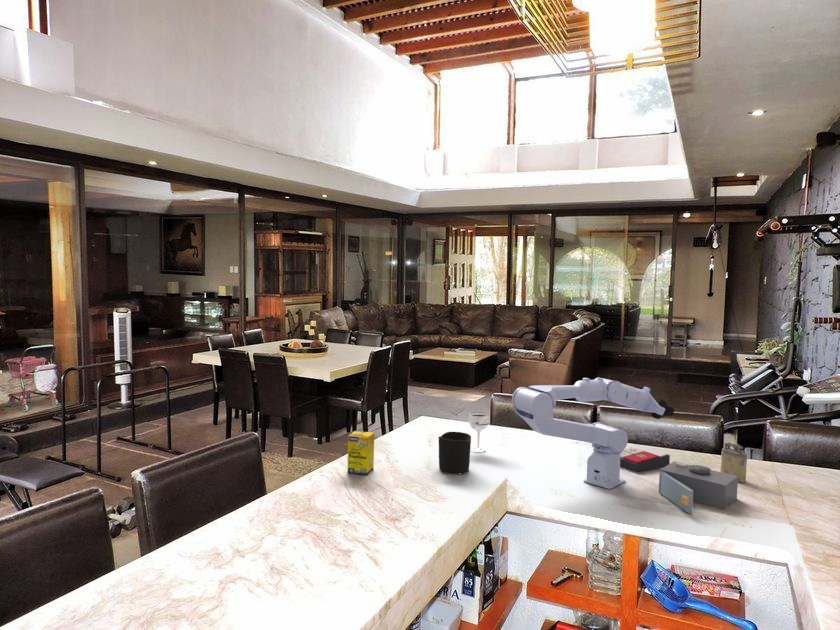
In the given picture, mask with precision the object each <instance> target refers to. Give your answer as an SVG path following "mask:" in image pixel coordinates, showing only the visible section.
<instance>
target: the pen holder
mask: <svg viewBox="0 0 840 630" xmlns="http://www.w3.org/2000/svg"><path fill="white" fill-rule="evenodd" d="M471 443H472V436H471V434H470V433H466V432H461V431H446V432H445V433H443V434H442V435H440V436H438V467H439V471H441V472H442V473H444V472H445V474H448V473H450V475H460V474H459V473H463V474H465V473H464V472H466V473H467V472H468V471H469V469H470V463H471V462H470V460H471Z"/></svg>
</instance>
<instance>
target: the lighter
mask: <svg viewBox="0 0 840 630" xmlns="http://www.w3.org/2000/svg"><path fill="white" fill-rule="evenodd" d="M723 445H724V447H722V448H721V453H720V454H721V455H720V471H719V472H722V473H727V474H731V475H736V476H738V483H744V484H745V483H746V482H747V464H748V463H747V462H748V461H747V460H748V456H747V453H746V452H744V451H742V450H743V449H744V446H742V445H739V443H731V442H724V444H723ZM731 447H732V448H731Z"/></svg>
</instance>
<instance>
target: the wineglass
mask: <svg viewBox="0 0 840 630" xmlns="http://www.w3.org/2000/svg"><path fill="white" fill-rule="evenodd" d="M468 415H469V418H468V425H469V426H470V427H471V428H472V429H473V430H475V431H476V432H477V433H476V435H477V436H476V437H477V448H476V447H475V448H473V449H474V450H476V451H480V450H482V449H483V448H480V434H481V432H482V431H483V430H485V429H486V428H487V427H488V426H489V425H490V418H489V417H490V413H487V412H484V411H483V412H482V411H473V412H472V411H471V412H469V413H468Z"/></svg>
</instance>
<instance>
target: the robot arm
mask: <svg viewBox="0 0 840 630" xmlns="http://www.w3.org/2000/svg"><path fill="white" fill-rule="evenodd" d="M650 392H651V388H650V387H647V386H643V388H642V387H641V386H639V385H635V386H630V385H628V384H624V383H622V382H620V381H618V380H611V379H607V378H603V377H599V376H598V377H596V378H594V379H590V377H589V378H588V377H583V378H582V380H578V381H575V382H574V384H573V385H572V384H571V385H568V384H567V385H566V384H565V385H563V384H558V385H557V384H556V385H555V384H548V385H547V384H546V385H545V384H543V385H539V384H538V385H530V386H528V387H525V386H520V387H518V388H516V390H514V392H513V394H512V397H511V404H512V406H513V410H514V412H515V413H516V414H517V415H518V416H519V417H521V419H523V421H525V422H526V424H527V425H528V426H529V427H530V428H531V429H532V430H533V431H534V432H535V433H538V434H541V435H543V436H550V437H555V438H561V439H566V440H572V441H579V442H584V443H589V444H591V448H593V449H592V450H593V451H592V453H591V455H589V456H588V458H587V462H586V478H584V479H583V483H587V484H590V485H595V486H598V487H601V488H605V489H608V490H611V489H613V488H614V487H617V486H618V485H621V484H623V483H624V482H626V479H625V478H623V477H622V478H621V477H620V476H621V472H620V471H621V467H620V456H621V452H623V450H624V449H626V448H627V445H628V443H629V441H628V440H629V437H628V434H627V432H626V431H625V430H623V429H622V428H617V427H613V426H610V425H607V424H604V423H603V422H599V421H597V422H593V423H582V422H578V421H577V422H576V421H572V420H566V419H562V418H561V419H560V418H556V417H555V416H554V408H555V407H556V403H557V401H559V400H560V401H561V400H566V399H575V400H576V401H577V402H580V403H582V402H583V403H584V402H585V403H586V402H598V401H599V402H600V401H608V402H611V403H613V404H614V403H615V404H617V405H622V406H624V407H628V408H632V409H634V410H636V411H640V412H645V413H652V414H651V417H652V418H653V419H657V420H660V419H662V418H663V417H672V416H673V415H674V413H675V410H676V409H675V408H674V407H672V406H671V405H669V404H668V402H667V401H666V400H664V399H663V398H660V399H659V400H658V402H657V401H656V398H655V397H654V396H653V395H652V394H651V393H650Z"/></svg>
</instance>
